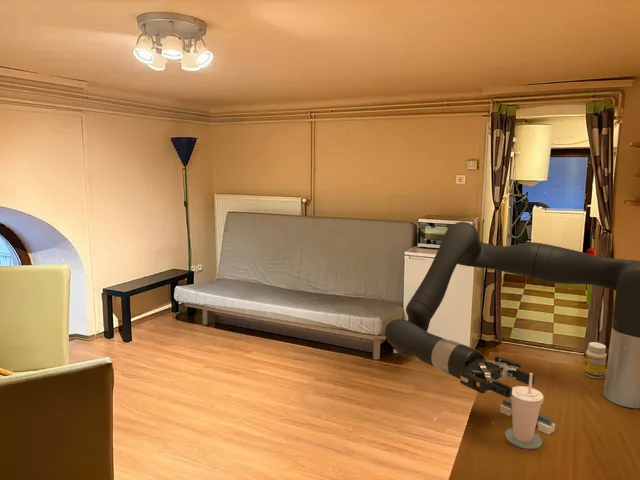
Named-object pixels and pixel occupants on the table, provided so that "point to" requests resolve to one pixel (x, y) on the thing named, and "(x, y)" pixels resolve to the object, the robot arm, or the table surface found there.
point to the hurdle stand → (541, 426)
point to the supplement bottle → (595, 360)
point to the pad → (532, 444)
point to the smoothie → (525, 410)
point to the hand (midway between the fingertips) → (522, 386)
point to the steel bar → (541, 417)
